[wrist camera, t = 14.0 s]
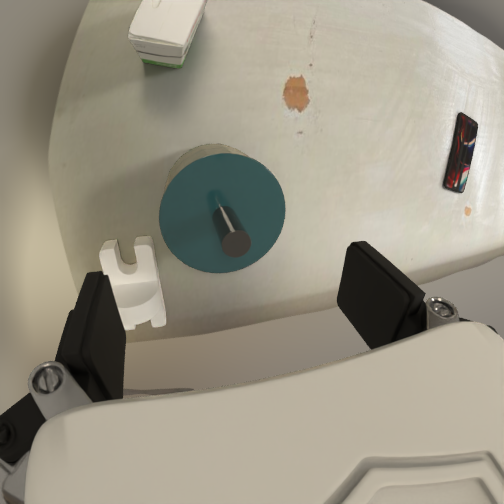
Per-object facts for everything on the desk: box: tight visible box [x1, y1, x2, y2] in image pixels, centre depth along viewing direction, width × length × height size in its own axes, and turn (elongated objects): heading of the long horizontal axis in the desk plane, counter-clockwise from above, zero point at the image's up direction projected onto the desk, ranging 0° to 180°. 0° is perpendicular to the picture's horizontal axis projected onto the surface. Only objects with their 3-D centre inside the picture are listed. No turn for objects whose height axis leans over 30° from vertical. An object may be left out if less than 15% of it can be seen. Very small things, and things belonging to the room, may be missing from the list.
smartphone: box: [444, 112, 478, 193], centre depth 42 cm, size 7×1×15 cm
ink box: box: [128, 0, 207, 68], centre depth 20 cm, size 9×5×12 cm, turn 162°
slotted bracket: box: [99, 236, 166, 330], centre depth 35 cm, size 13×7×8 cm, turn 0°
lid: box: [159, 153, 285, 273], centre depth 26 cm, size 13×13×6 cm
